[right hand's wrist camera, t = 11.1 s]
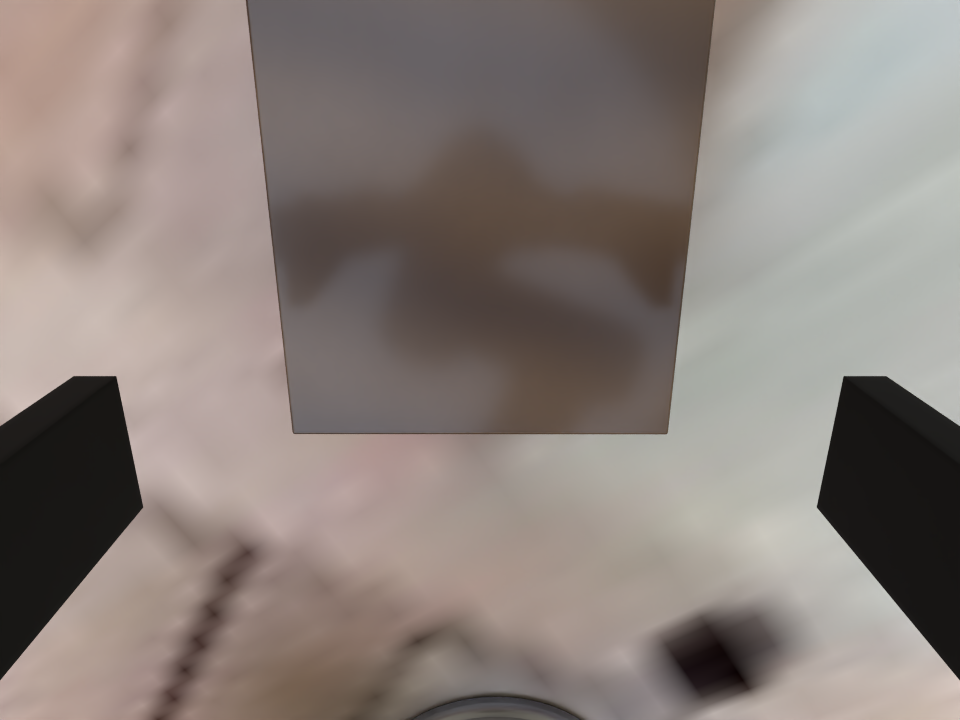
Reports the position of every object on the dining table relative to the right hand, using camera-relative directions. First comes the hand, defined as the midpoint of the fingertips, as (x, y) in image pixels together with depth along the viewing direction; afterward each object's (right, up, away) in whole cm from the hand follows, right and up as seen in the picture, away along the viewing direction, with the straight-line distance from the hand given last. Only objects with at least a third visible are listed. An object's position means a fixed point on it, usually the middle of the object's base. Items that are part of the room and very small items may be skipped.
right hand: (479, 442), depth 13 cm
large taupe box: (0, +13, +14) cm, 20 cm away
